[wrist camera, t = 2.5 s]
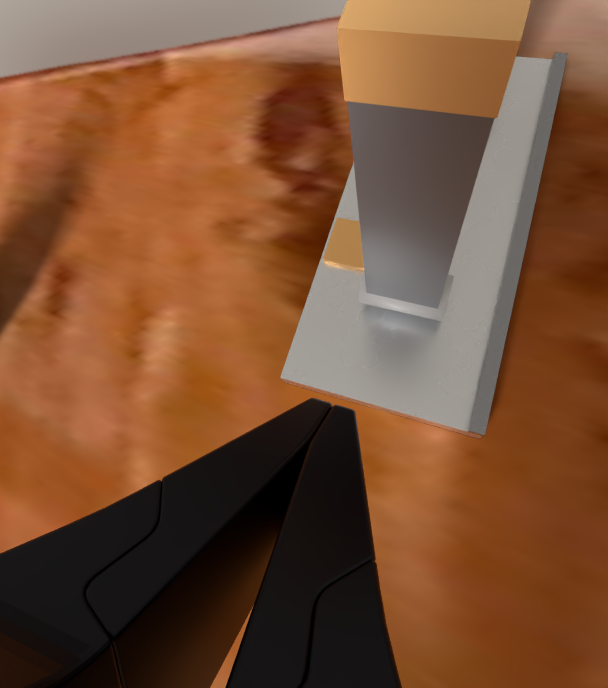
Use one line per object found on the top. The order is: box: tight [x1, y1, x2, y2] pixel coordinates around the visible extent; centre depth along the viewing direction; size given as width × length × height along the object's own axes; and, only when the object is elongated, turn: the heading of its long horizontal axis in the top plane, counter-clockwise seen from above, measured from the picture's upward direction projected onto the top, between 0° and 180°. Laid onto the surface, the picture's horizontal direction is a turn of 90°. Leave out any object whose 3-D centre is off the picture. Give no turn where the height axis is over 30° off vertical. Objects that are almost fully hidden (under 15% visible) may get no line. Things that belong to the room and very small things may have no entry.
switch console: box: [280, 52, 568, 439], centre depth 22 cm, size 20×9×1 cm, turn 162°
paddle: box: [337, 0, 531, 322], centre depth 14 cm, size 2×4×13 cm, turn 72°
